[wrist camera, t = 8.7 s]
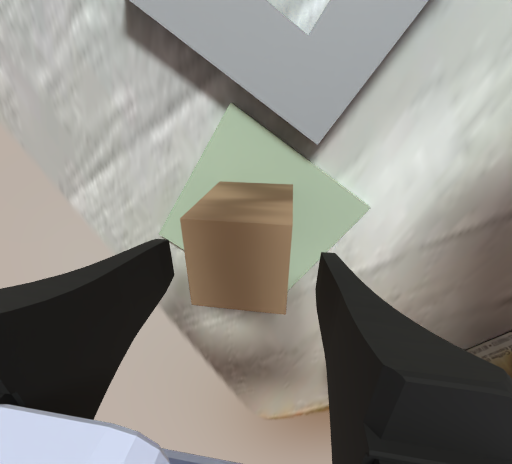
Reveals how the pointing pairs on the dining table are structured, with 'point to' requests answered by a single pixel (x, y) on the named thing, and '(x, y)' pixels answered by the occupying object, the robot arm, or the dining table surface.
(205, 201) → the walnut block
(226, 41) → the pocket board
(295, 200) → the felt mat
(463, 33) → the dining table surface
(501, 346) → the coffee box
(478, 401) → the robot arm
